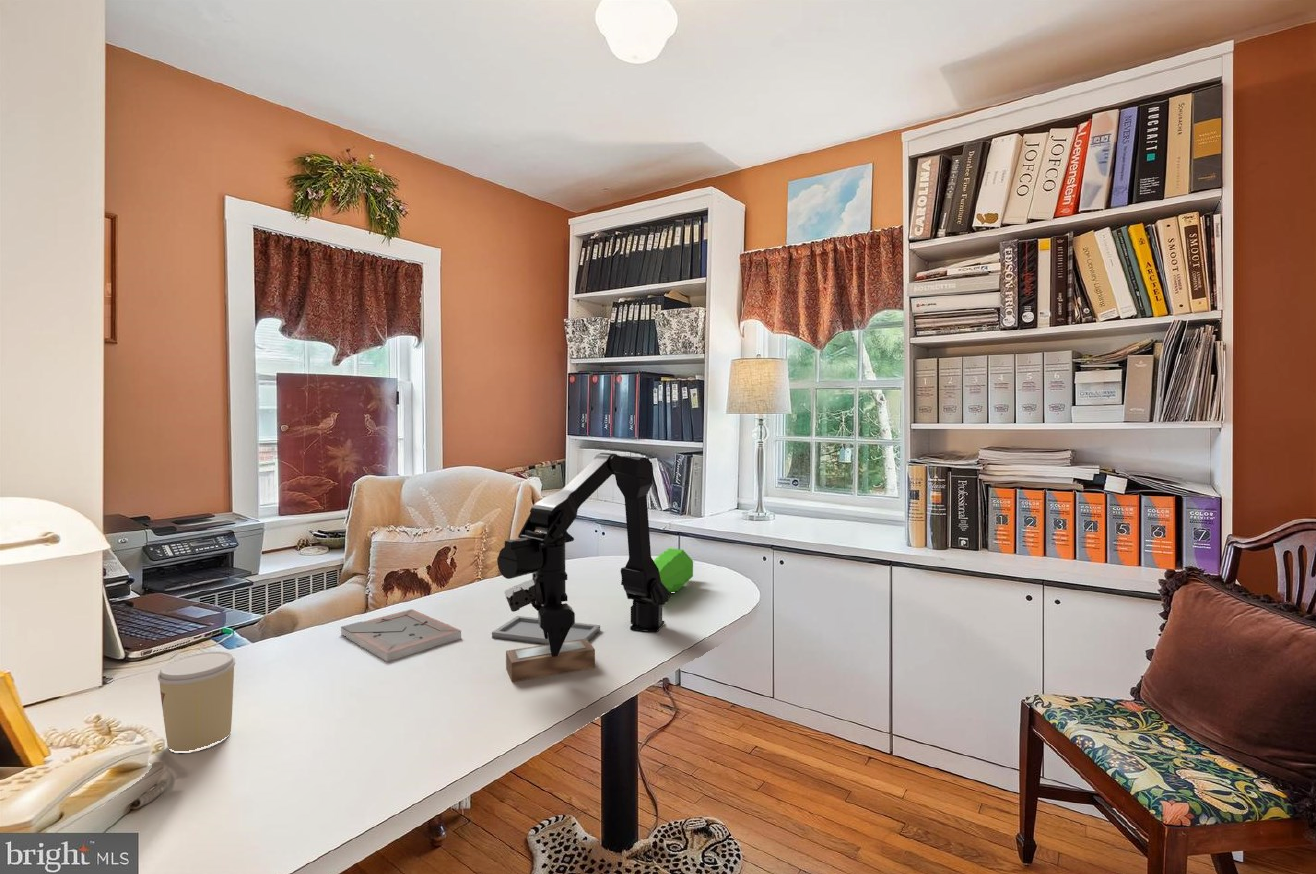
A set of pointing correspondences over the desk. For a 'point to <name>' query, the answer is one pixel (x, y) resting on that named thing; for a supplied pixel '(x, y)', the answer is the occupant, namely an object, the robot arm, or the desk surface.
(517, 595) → the robot arm
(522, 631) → the display tray
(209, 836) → the desk surface
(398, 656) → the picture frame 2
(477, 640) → the desk surface
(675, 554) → the green faceted polyhedron
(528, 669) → the wooden box
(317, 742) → the desk surface
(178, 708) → the coffee cup
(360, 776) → the desk surface
